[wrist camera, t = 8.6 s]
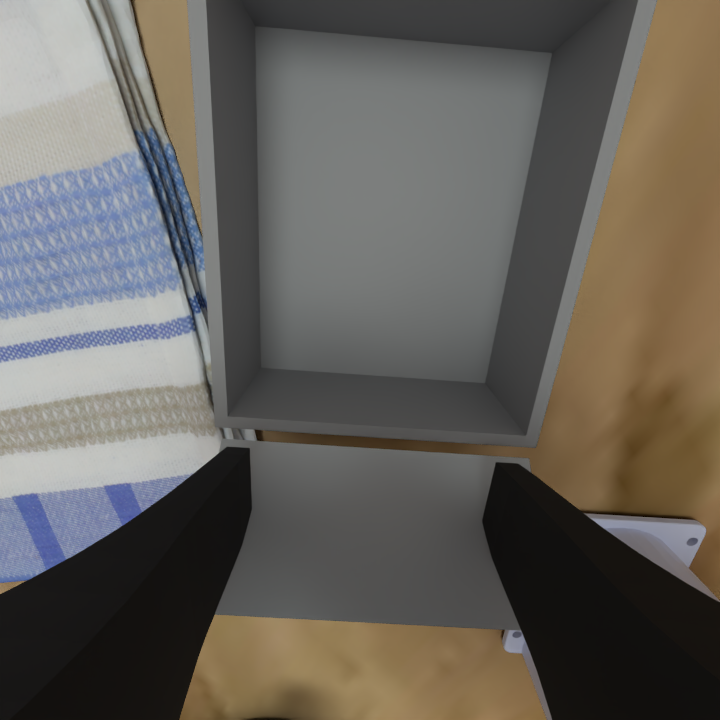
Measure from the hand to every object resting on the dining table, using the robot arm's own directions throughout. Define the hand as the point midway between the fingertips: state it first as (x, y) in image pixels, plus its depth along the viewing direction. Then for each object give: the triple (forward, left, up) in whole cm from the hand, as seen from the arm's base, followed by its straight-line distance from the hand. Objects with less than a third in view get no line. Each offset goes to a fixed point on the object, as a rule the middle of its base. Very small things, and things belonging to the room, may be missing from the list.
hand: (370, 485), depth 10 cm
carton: (+6, 0, -6) cm, 9 cm away
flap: (-1, 0, 0) cm, 1 cm away
